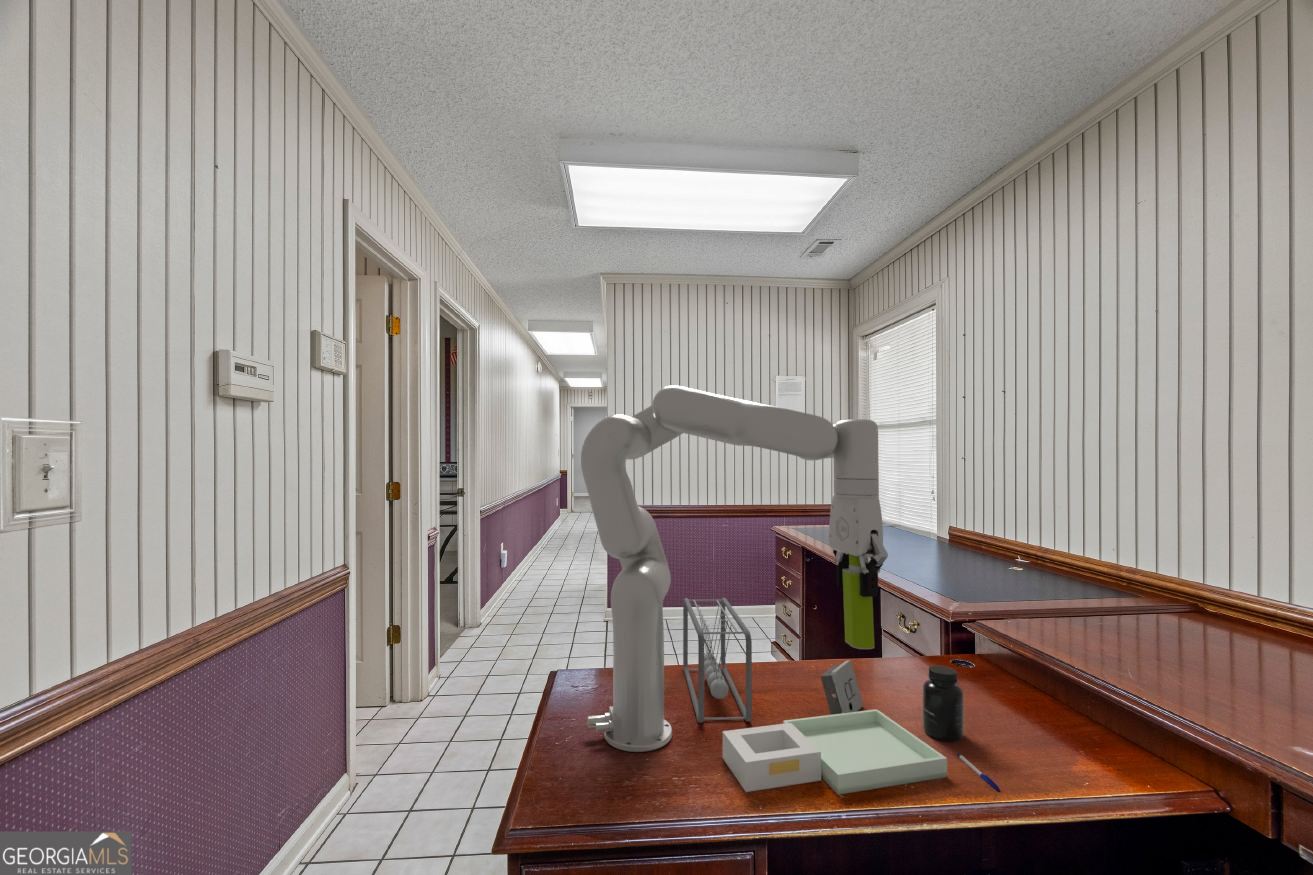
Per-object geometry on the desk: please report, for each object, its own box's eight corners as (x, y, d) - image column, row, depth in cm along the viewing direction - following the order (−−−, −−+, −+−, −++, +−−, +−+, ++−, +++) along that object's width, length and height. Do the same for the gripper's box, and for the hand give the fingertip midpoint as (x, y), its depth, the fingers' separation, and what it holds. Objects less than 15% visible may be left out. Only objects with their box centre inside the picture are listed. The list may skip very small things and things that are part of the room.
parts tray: (838, 794, 84) (837, 774, 84) (783, 737, 101) (783, 720, 101) (947, 776, 89) (946, 757, 89) (876, 724, 106) (876, 709, 106)
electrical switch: (848, 723, 107) (843, 673, 108) (822, 717, 110) (818, 670, 111) (864, 706, 114) (859, 660, 115) (839, 702, 118) (835, 657, 119)
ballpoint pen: (1002, 792, 85) (1002, 786, 85) (996, 793, 85) (996, 786, 85) (959, 756, 96) (959, 750, 96) (954, 756, 95) (954, 750, 96)
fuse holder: (746, 792, 84) (746, 762, 84) (722, 757, 94) (722, 731, 94) (822, 781, 87) (821, 752, 88) (791, 748, 97) (790, 722, 98)
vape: (856, 649, 92) (851, 530, 94) (842, 639, 98) (838, 527, 100) (877, 649, 92) (872, 529, 94) (862, 639, 98) (858, 527, 100)
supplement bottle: (918, 734, 103) (917, 669, 103) (929, 721, 108) (928, 659, 108) (958, 747, 98) (957, 679, 99) (968, 733, 103) (967, 668, 104)
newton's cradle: (682, 668, 135) (683, 595, 136) (724, 667, 136) (724, 595, 136) (698, 727, 105) (698, 633, 106) (752, 726, 106) (752, 633, 106)
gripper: (811, 486, 104) (812, 581, 104) (867, 492, 88) (868, 605, 87) (846, 486, 106) (847, 579, 106) (907, 491, 90) (909, 602, 89)
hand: (856, 590), depth 96 cm, fingers closed on vape, 6 cm apart
